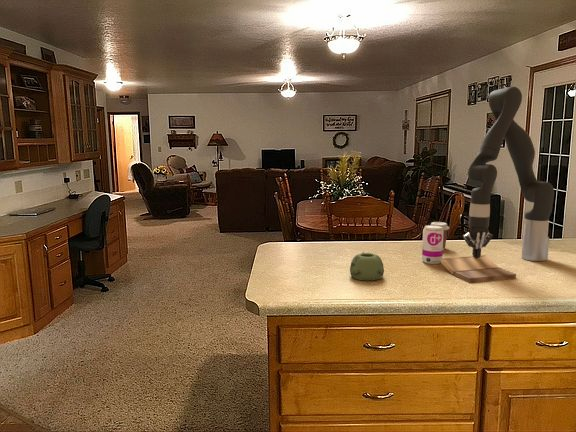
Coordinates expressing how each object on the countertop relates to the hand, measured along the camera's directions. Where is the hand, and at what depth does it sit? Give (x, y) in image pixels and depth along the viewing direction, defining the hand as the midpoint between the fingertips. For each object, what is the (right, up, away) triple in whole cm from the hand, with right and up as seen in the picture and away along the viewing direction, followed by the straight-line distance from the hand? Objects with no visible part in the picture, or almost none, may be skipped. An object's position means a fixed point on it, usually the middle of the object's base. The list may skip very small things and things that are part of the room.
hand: (476, 257), depth 193 cm
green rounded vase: (-46, -6, -9) cm, 47 cm away
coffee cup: (-5, +1, +34) cm, 34 cm away
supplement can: (-15, -3, +10) cm, 18 cm away
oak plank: (-4, -3, -3) cm, 6 cm away
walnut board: (-1, -6, -12) cm, 14 cm away
